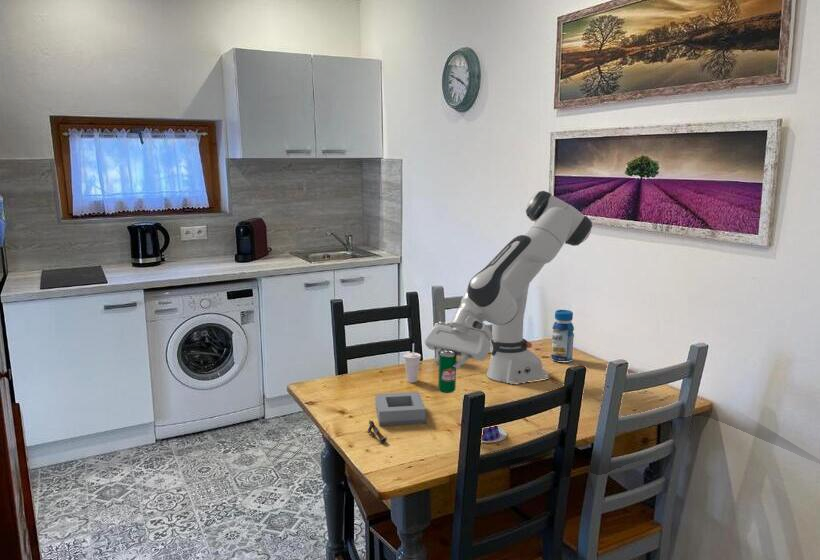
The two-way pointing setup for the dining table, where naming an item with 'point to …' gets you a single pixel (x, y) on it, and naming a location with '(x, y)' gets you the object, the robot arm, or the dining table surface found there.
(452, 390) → the soda can
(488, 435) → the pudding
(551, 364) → the dining table surface
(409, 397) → the block
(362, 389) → the dining table surface
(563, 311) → the beverage bottle
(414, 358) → the smoothie
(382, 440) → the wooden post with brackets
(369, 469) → the dining table surface
